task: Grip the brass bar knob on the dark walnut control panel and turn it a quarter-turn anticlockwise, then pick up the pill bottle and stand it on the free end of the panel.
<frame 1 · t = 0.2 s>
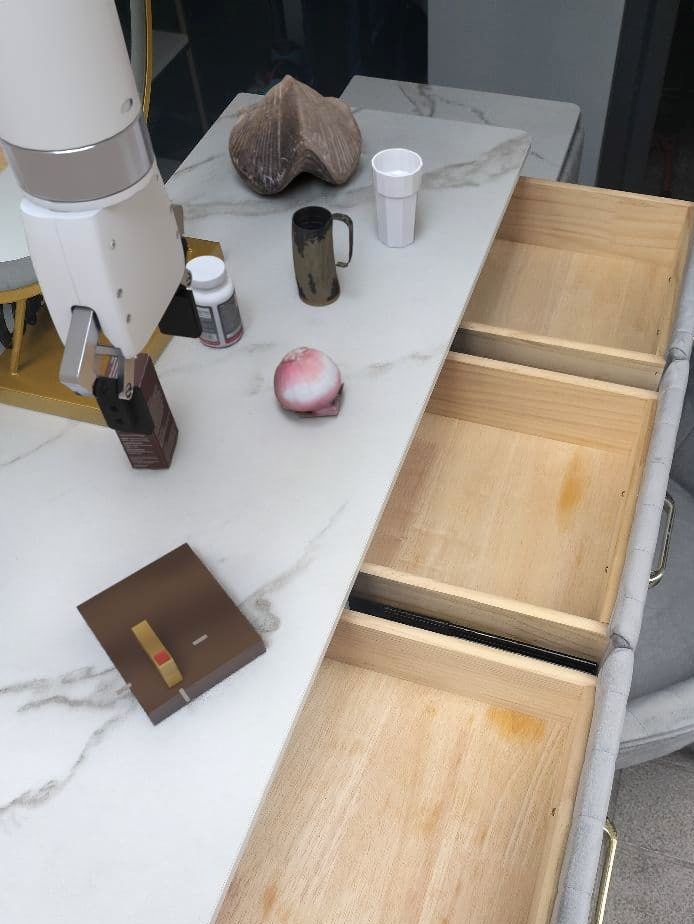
hand: (158, 379, 58), 29 cm above the table, tool pointing down, fingers open, 9 cm apart
panel: (174, 635, 79), on the table
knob: (157, 653, 72), point 5 cm above the table, hinge at 0.0°
pill bottle: (221, 335, 103), on the table
seashell: (300, 176, 123), on the table
mug: (326, 295, 108), on the table
box: (155, 451, 92), on the table
onion: (311, 404, 96), on the table
cup: (396, 237, 115), on the table
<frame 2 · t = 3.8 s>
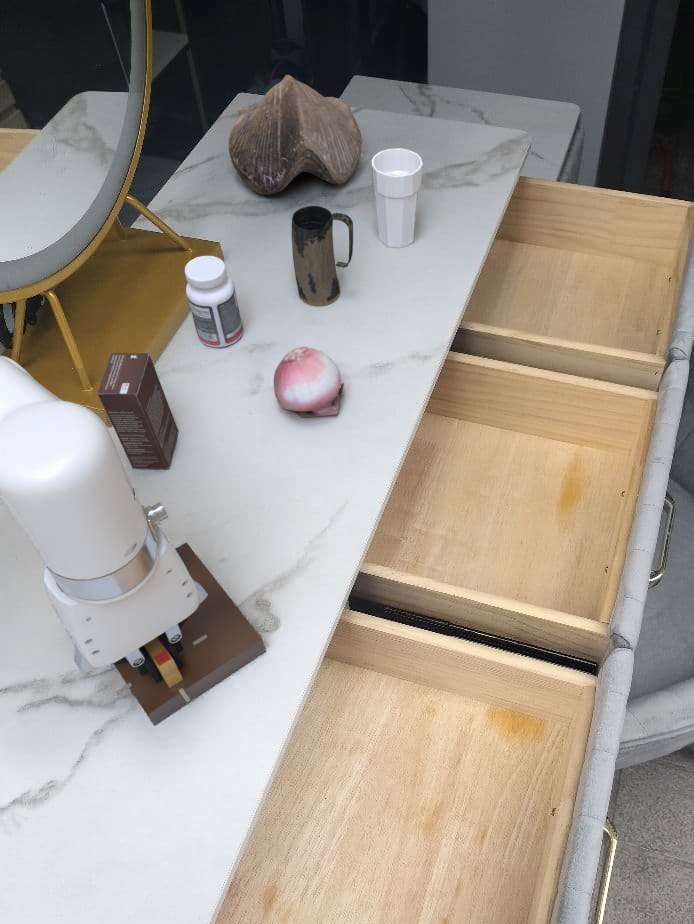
hand: (161, 662, 74), 3 cm above the table, tool pointing down, fingers closed
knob: (157, 653, 72), point 5 cm above the table, hinge at 0.0°, touching gripper
everything else where it was.
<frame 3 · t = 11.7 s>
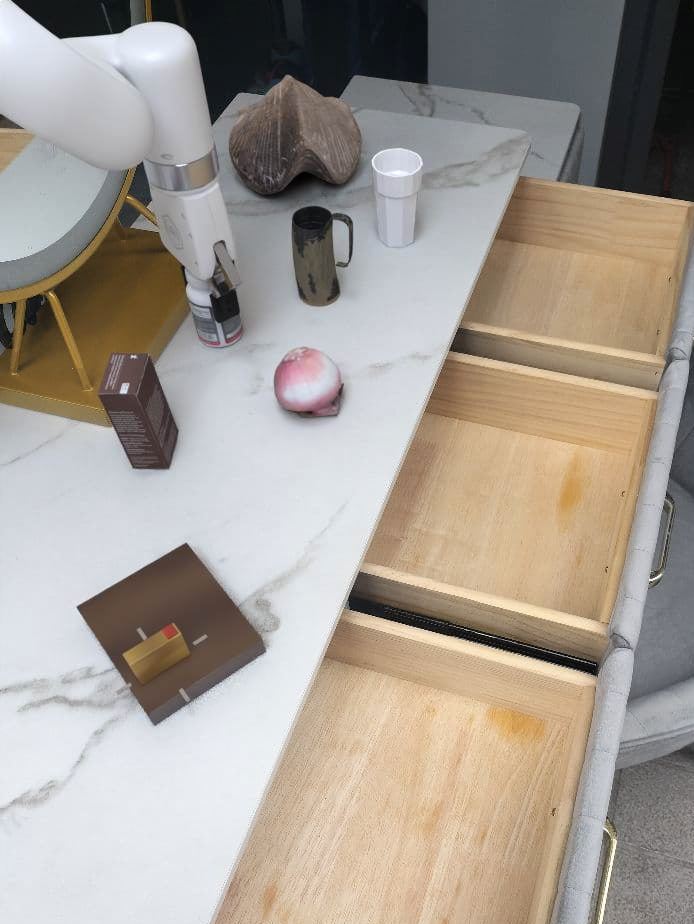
hand: (213, 302, 99), 5 cm above the table, tool pointing down, fingers closed on pill bottle, 5 cm apart
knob: (157, 653, 72), point 5 cm above the table, hinge at 89.8°
pill bottle: (221, 335, 103), on the table, touching gripper
everything else where it was.
when the fingers open (7 cm above the table, at t = 20.3 s): pill bottle stays where it is, resting on panel.
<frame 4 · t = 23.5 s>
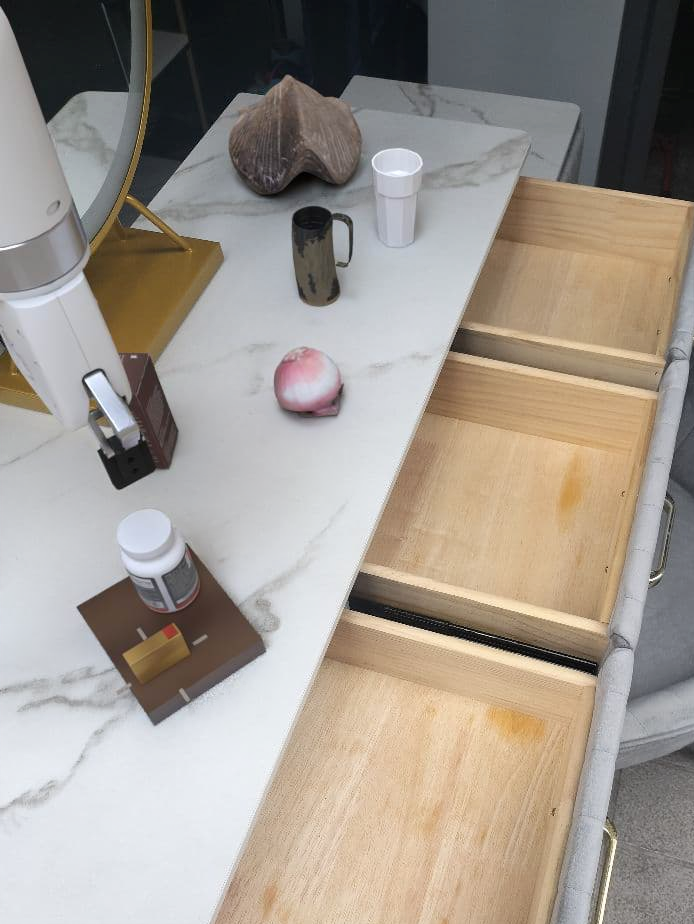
hand: (104, 438, 61), 24 cm above the table, tool pointing down, fingers open, 9 cm apart
pill bottle: (171, 590, 79), point 2 cm above the table, touching panel
everything else where it was.
at the end: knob at +90° (first picture: +0°); pill bottle 0.4 cm from the target spot on the panel, point 2.3 cm above the panel's base; pill bottle tilted 0° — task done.
